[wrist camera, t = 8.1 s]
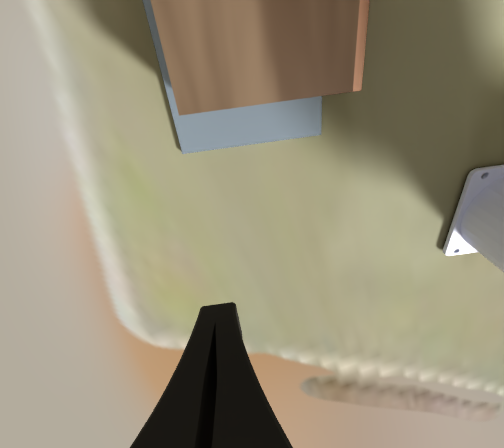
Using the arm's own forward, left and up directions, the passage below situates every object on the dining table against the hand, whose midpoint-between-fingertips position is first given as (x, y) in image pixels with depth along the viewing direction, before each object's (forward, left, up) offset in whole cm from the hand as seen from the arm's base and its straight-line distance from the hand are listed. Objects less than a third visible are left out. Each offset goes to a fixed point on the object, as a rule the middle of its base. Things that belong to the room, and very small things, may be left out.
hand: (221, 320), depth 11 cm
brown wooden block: (-8, -10, -8) cm, 15 cm away
